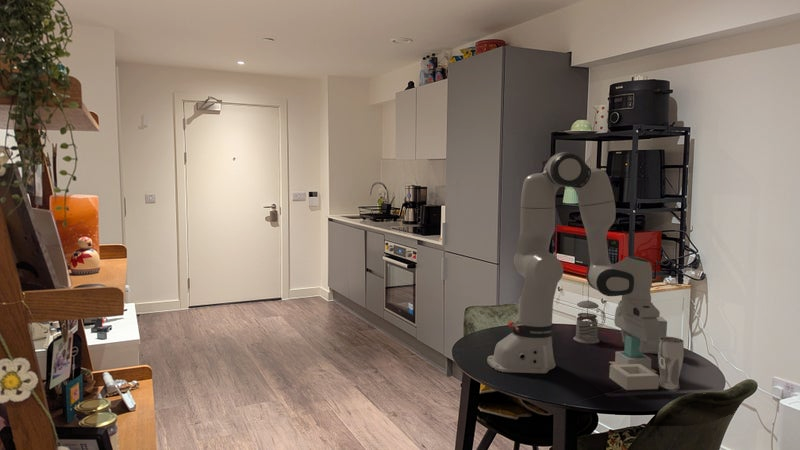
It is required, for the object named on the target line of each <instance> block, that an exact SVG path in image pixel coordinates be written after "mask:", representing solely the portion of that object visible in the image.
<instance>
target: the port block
mask: <svg viewBox="0 0 800 450" xmlns="http://www.w3.org/2000/svg"><path fill="white" fill-rule="evenodd" d="M659 376H660V374H657V372H652V371H651V370H649V369H647V368H646V367H644V366H642V365H641V364H625V365H612V364H610V365H609V376H608V378H609V379H610V380H611V381H612V382H614V383H615V384H616V385H618V386H620V387H621V388H622V389H623V390H625V394H638V393H643V394H644V393H658V392H659V391H658V390H659V385H658V383H659Z"/></svg>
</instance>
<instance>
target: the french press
mask: <svg viewBox="0 0 800 450" xmlns="http://www.w3.org/2000/svg"><path fill="white" fill-rule="evenodd" d="M587 290H588V291H587V298H589V297H590V295H589V293H590V285H588V289H587ZM576 305H577V307H579V308H583V309H587V311H586V312H579V313H577V317H576V323H575V324H576V326H575V336H574V337H573V340H574V341H576V342H578V343H581V344H582V343H583V344H598V343H600V339H599V338H598V334H599V331H598V330H599V329H600V328H601V327H603V326H604V325H605V322H606V319H605V317H606V314H605V312H604V311H603V310H602V309H600V308H599V304H597V303H596V302H594V301H592V300H589V299H587V300H583V301H580V302H579V301H578V303H576ZM590 309H591V310H592V309H594V310H595V309H596V310H597V311H596V313H599V311H600V312H601V314H602V319H603V320H602V321H601V323H600V324H598V323H599V322H598V321H599V320H598V319H597V317H598V315H596V314H594V313H589V310H590Z"/></svg>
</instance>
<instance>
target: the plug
mask: <svg viewBox="0 0 800 450" xmlns="http://www.w3.org/2000/svg"><path fill="white" fill-rule="evenodd" d="M640 344H641V342H640V338H638V337H636V336H634V335H632V334H630V335H628V336H625V343H624V350H623V351H624V355H625V356H627V357H628V358H642V354H643V353H641V352H640V351H638V346H640Z"/></svg>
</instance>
